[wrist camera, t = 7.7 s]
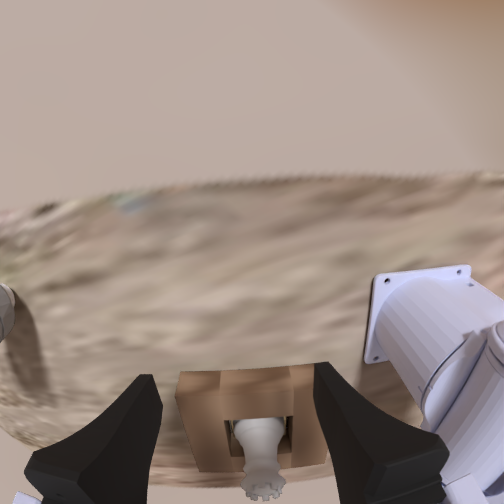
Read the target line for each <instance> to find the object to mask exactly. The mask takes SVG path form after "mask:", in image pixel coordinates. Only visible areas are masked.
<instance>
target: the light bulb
mask: <svg viewBox="0 0 504 504" xmlns="http://www.w3.org/2000/svg"><path fill="white" fill-rule="evenodd" d="M14 305H15V299H14V294H13V292H12V290H11V289H10V288H9V287H8V286H7V285H5V284H3V283H1V284H0V342H1V341H2V340H3V339H4V338H5V337H6V336H7V335H8V333H9V332H10V331H11V330H12V328H13V325H14V322H15V313H14V308H13V307H14Z"/></svg>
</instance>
